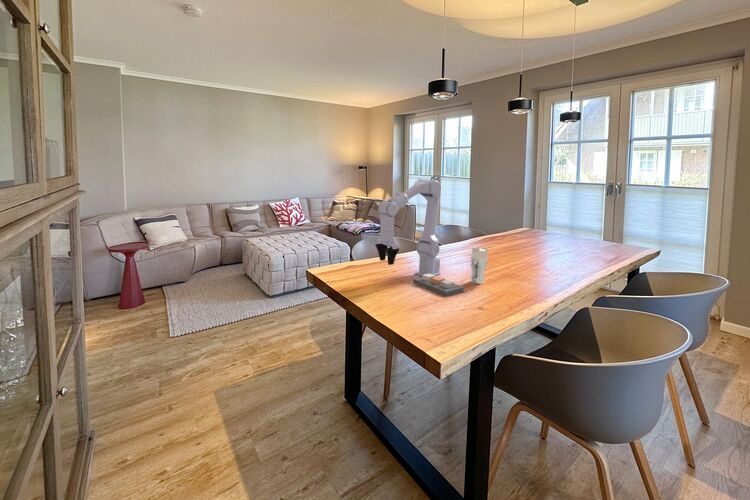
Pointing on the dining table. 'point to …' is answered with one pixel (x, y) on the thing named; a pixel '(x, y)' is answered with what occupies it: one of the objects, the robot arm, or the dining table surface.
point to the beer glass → (478, 265)
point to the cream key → (427, 277)
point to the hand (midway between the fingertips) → (386, 262)
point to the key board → (438, 287)
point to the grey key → (447, 284)
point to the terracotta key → (437, 280)
